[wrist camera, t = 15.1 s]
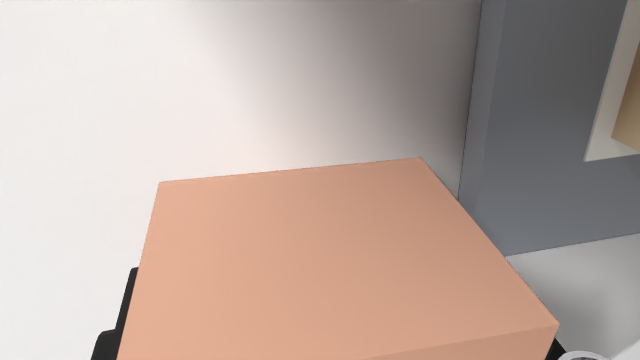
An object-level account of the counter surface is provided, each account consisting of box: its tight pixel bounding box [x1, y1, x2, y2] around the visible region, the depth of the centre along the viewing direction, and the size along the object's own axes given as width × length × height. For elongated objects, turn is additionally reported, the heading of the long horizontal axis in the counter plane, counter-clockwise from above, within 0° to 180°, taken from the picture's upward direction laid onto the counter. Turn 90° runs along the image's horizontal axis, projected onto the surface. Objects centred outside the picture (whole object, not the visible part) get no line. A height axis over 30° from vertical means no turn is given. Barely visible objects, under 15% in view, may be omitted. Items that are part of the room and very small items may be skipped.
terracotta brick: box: [117, 157, 560, 360], centre depth 9 cm, size 6×6×5 cm
